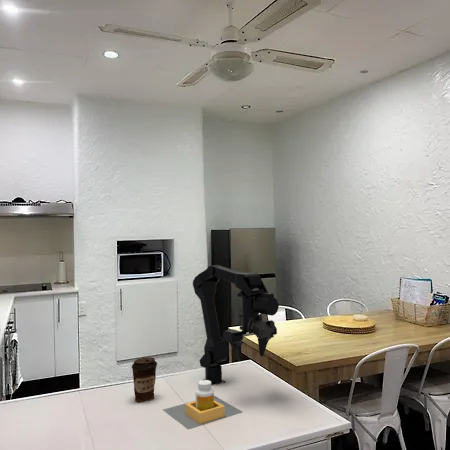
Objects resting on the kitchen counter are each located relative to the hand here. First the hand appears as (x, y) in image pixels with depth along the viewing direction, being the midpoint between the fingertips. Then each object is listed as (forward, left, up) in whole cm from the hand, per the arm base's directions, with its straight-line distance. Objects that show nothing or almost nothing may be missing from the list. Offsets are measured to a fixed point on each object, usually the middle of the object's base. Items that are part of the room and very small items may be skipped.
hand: (250, 358), depth 137 cm
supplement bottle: (+3, -20, -13) cm, 24 cm away
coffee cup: (-20, -29, -13) cm, 38 cm away
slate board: (0, -19, -13) cm, 23 cm away
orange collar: (+3, -20, -12) cm, 24 cm away
